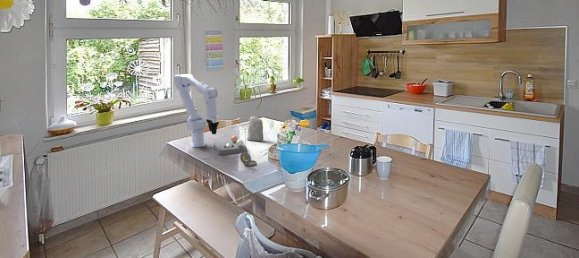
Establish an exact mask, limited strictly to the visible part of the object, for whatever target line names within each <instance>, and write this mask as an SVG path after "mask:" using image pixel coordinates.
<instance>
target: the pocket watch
mask: <svg viewBox="0 0 579 258" xmlns="http://www.w3.org/2000/svg"><path fill="white" fill-rule="evenodd" d="M246 149H247V150H246ZM246 149H245V150H244V148H243V150H244V151H245V152H240V155H239V160H240V162H241V163H242V164H243V165H245V166H247V167H248V166H249V167H251V166H255V165H257V161H256V160H252V156H251V154H250V153H249V152H247V151H248V148H246Z"/></svg>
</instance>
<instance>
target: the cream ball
mask: <svg viewBox="0 0 579 258" xmlns="http://www.w3.org/2000/svg"><path fill="white" fill-rule="evenodd" d="M236 144H237V145H238V146H242V145H243V144H244V141H243V140H242V139H240V138H238V140H237V142H236Z"/></svg>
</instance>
